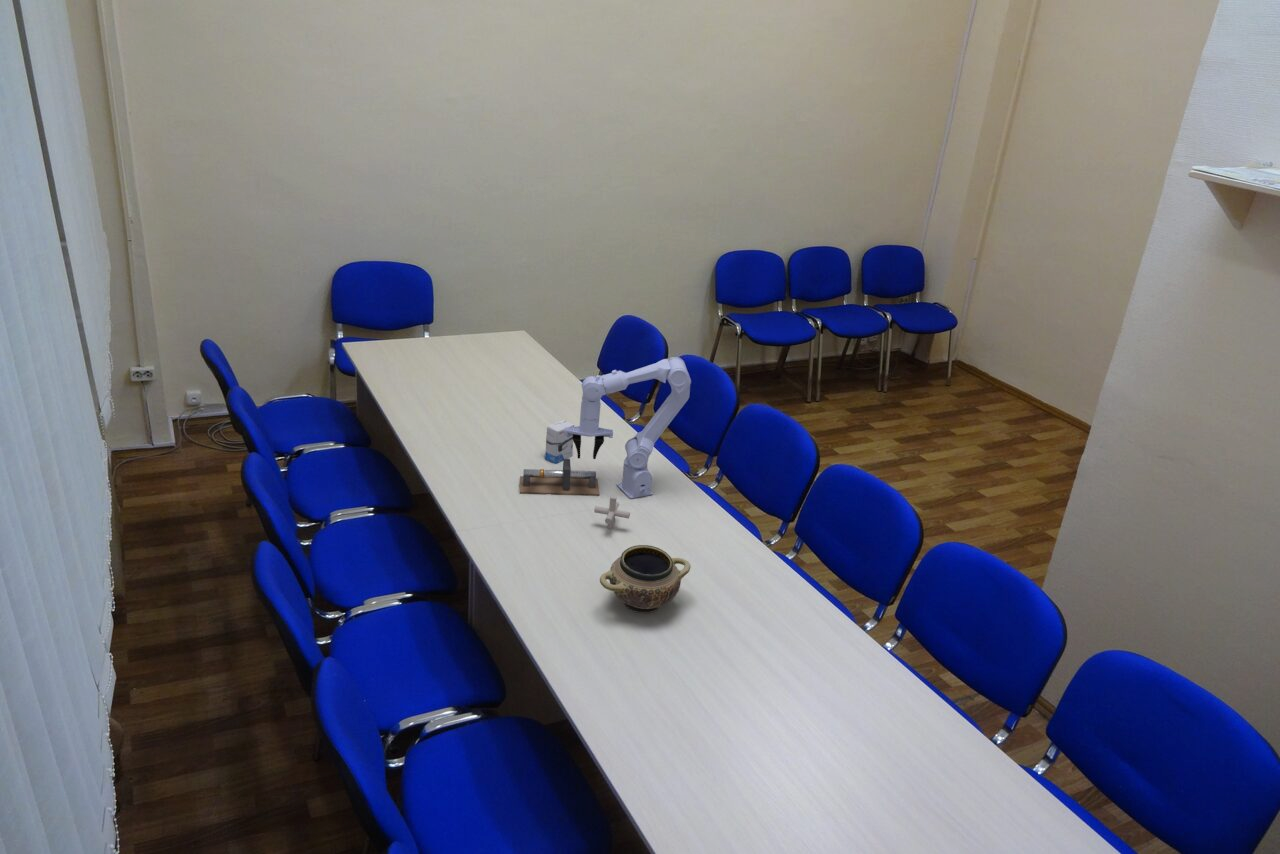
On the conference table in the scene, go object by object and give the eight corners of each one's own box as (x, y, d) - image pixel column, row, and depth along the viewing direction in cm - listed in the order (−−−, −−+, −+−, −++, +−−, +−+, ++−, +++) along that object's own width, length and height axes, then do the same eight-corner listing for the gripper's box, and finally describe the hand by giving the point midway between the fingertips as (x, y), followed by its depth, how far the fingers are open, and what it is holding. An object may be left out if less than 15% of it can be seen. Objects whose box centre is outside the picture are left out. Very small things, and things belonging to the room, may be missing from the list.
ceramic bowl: (605, 635, 223) (615, 595, 214) (582, 581, 235) (591, 540, 226) (695, 618, 233) (709, 578, 224) (669, 566, 245) (681, 527, 236)
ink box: (555, 464, 296) (557, 431, 291) (544, 459, 299) (545, 426, 294) (573, 456, 302) (575, 423, 297) (561, 451, 305) (563, 418, 300)
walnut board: (597, 480, 289) (597, 478, 288) (599, 495, 280) (599, 494, 280) (520, 477, 286) (520, 476, 285) (519, 493, 277) (519, 492, 276)
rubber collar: (568, 479, 286) (570, 458, 283) (569, 490, 280) (570, 469, 277) (562, 478, 286) (563, 458, 283) (562, 489, 279) (564, 469, 276)
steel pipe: (594, 483, 285) (595, 469, 283) (595, 488, 283) (596, 473, 280) (523, 481, 282) (523, 466, 280) (523, 486, 280) (523, 471, 278)
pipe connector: (624, 539, 258) (626, 508, 254) (589, 533, 260) (591, 502, 256) (631, 522, 267) (634, 492, 263) (598, 516, 269) (600, 486, 265)
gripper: (613, 412, 278) (609, 452, 284) (565, 409, 276) (562, 450, 282) (614, 422, 272) (611, 462, 278) (565, 419, 270) (562, 460, 276)
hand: (586, 457), depth 279 cm, fingers open, 4 cm apart
